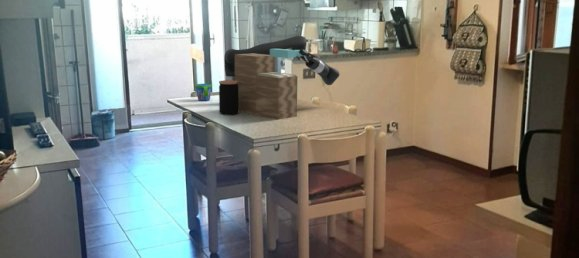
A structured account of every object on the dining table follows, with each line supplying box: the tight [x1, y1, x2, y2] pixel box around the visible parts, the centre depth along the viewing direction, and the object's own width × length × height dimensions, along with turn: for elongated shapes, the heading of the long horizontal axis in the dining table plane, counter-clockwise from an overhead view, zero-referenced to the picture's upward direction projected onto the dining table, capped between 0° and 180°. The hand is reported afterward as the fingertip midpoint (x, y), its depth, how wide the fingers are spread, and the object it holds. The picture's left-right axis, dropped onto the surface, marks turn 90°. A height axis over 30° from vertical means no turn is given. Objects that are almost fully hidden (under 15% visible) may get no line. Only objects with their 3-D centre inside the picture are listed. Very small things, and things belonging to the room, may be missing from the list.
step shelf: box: [235, 53, 298, 120], centre depth 313 cm, size 14×36×32 cm, turn 45°
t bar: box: [270, 49, 307, 59], centre depth 311 cm, size 19×14×4 cm
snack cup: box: [194, 83, 213, 102], centre depth 358 cm, size 16×10×10 cm
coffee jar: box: [218, 79, 240, 116], centre depth 313 cm, size 11×11×18 cm
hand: (297, 50), depth 314 cm, fingers closed on t bar, 4 cm apart
